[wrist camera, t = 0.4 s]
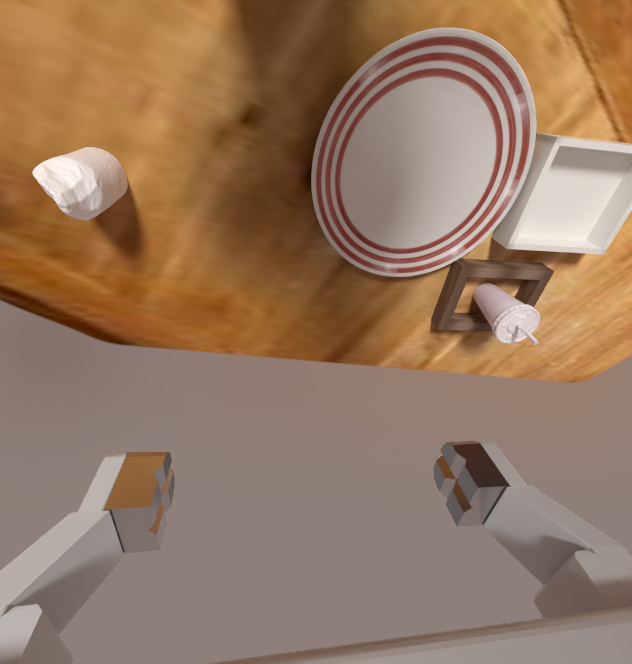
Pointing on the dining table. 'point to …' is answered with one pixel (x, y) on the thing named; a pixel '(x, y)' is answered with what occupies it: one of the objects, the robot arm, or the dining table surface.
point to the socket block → (464, 268)
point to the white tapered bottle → (83, 181)
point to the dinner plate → (423, 152)
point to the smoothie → (506, 314)
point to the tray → (570, 197)
